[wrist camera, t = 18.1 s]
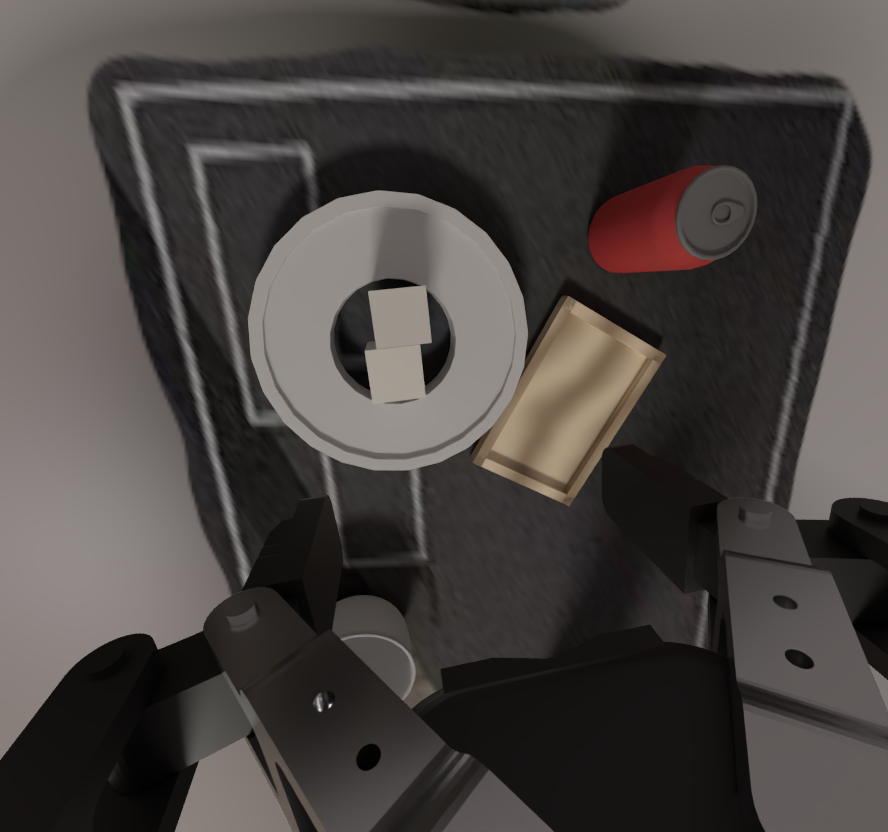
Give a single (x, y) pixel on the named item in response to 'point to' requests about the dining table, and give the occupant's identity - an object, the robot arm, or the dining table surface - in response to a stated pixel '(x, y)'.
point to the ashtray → (355, 265)
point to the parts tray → (568, 402)
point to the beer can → (675, 221)
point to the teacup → (377, 639)
